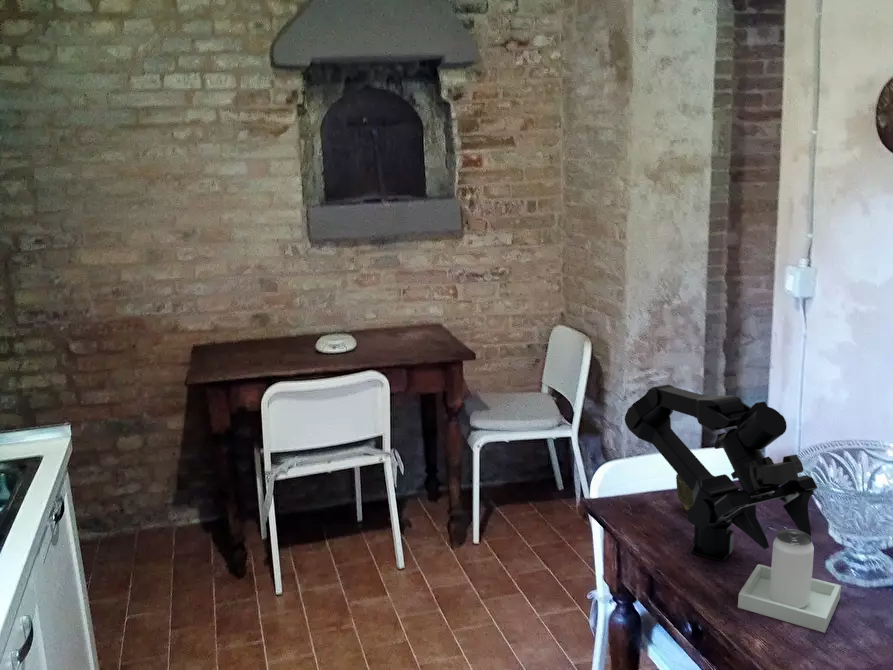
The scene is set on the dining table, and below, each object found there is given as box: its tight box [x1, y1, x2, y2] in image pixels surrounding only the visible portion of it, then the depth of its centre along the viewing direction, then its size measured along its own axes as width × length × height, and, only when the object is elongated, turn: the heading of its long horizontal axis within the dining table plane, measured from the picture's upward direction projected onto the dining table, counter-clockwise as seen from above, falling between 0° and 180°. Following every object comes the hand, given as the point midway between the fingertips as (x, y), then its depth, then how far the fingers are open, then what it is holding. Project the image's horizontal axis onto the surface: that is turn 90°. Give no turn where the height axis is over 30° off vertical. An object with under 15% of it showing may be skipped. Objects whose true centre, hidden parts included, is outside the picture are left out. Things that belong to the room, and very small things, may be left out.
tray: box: [737, 563, 842, 634], centre depth 145 cm, size 14×12×3 cm
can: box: [770, 528, 815, 609], centre depth 144 cm, size 6×6×12 cm
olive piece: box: [675, 473, 694, 513], centre depth 180 cm, size 8×7×8 cm
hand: (788, 542), depth 144 cm, fingers open, 9 cm apart
